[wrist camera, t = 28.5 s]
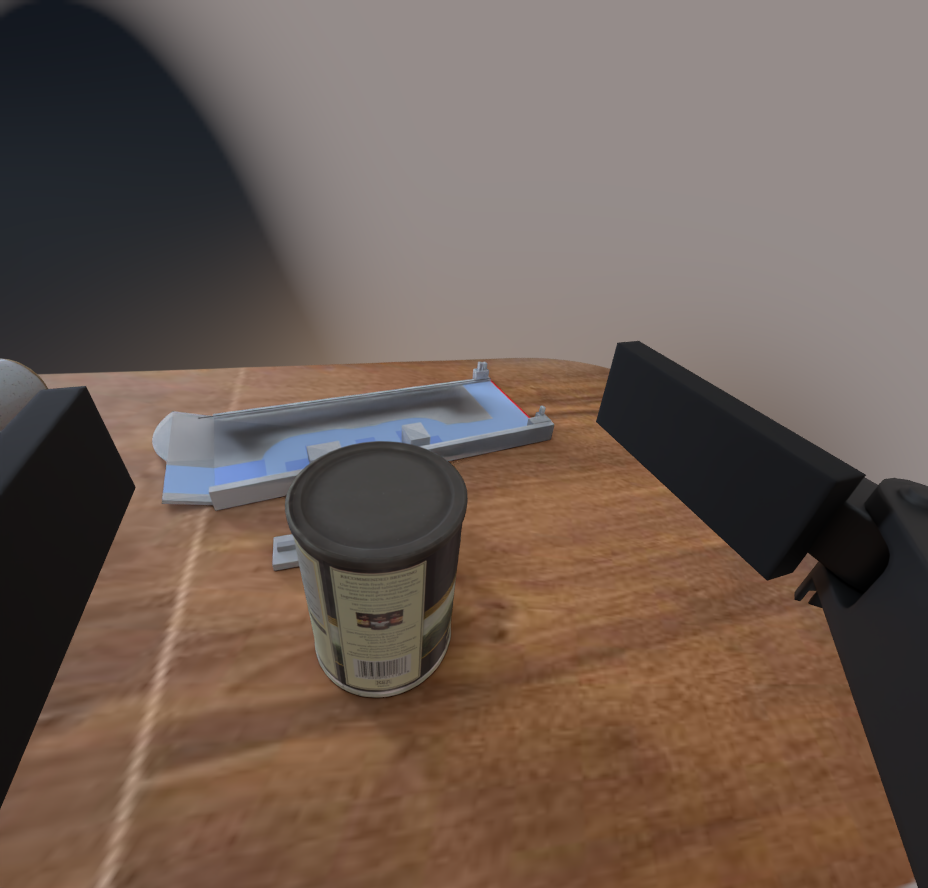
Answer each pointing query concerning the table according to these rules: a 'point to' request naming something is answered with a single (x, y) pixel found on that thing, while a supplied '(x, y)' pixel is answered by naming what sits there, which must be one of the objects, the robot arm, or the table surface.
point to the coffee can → (378, 561)
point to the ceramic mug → (16, 389)
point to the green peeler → (284, 553)
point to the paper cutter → (332, 436)
